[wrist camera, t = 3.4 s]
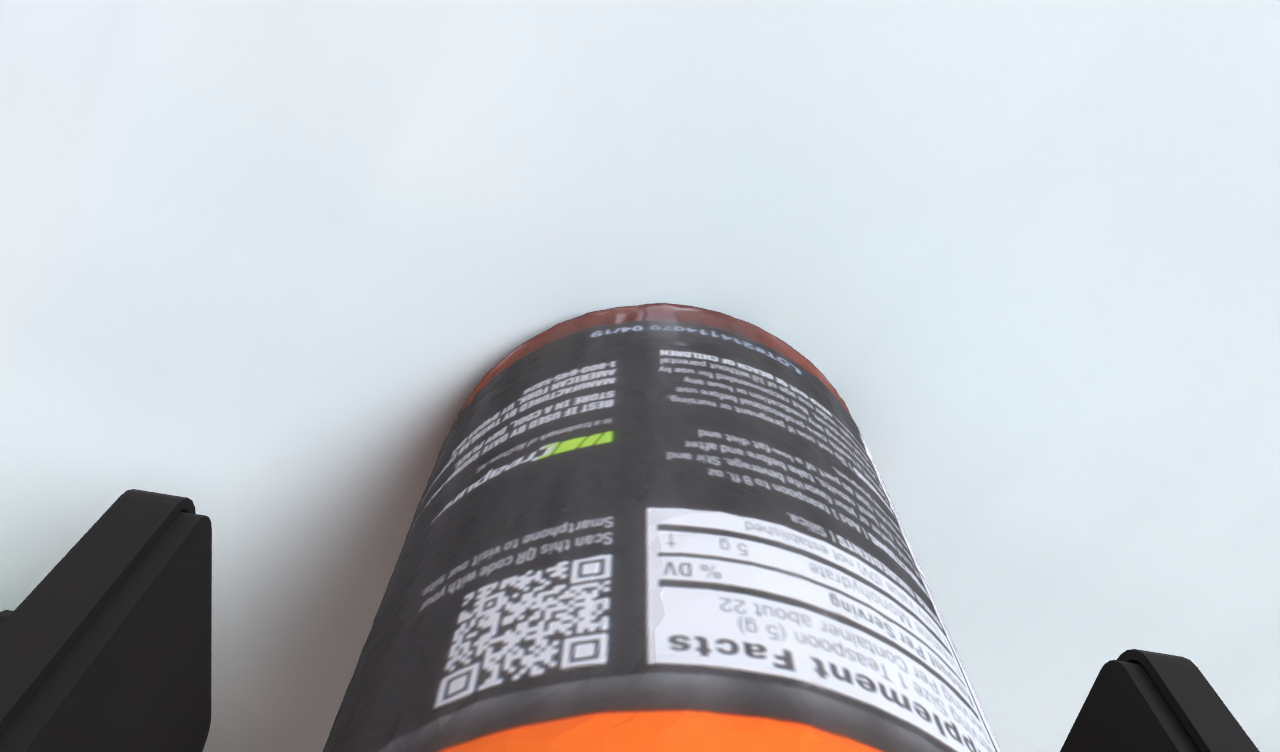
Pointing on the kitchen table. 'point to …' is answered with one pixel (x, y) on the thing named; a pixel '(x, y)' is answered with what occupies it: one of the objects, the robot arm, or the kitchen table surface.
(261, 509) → the kitchen table surface
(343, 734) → the supplement bottle
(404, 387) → the kitchen table surface
